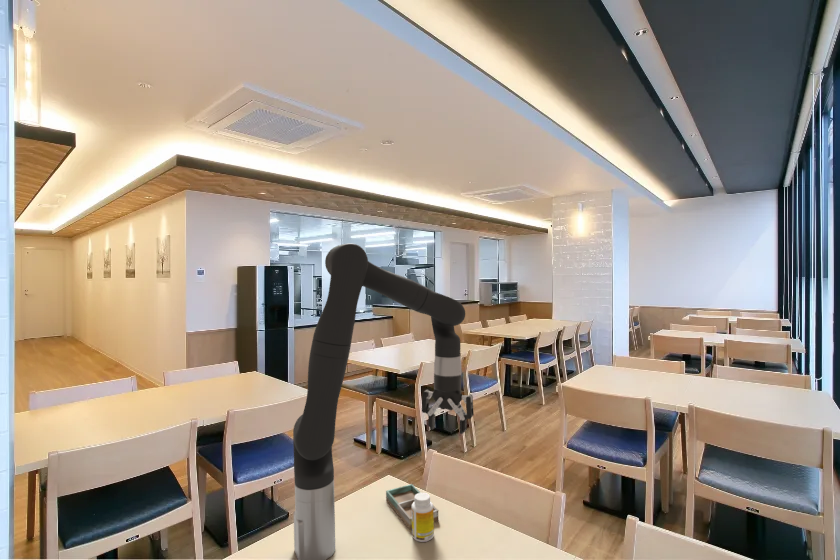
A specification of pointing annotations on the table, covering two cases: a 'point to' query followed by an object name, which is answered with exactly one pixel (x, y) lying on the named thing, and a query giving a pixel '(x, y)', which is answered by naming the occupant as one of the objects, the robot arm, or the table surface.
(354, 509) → the table surface
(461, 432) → the robot arm
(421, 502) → the supplement bottle
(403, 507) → the divided sorting tray
